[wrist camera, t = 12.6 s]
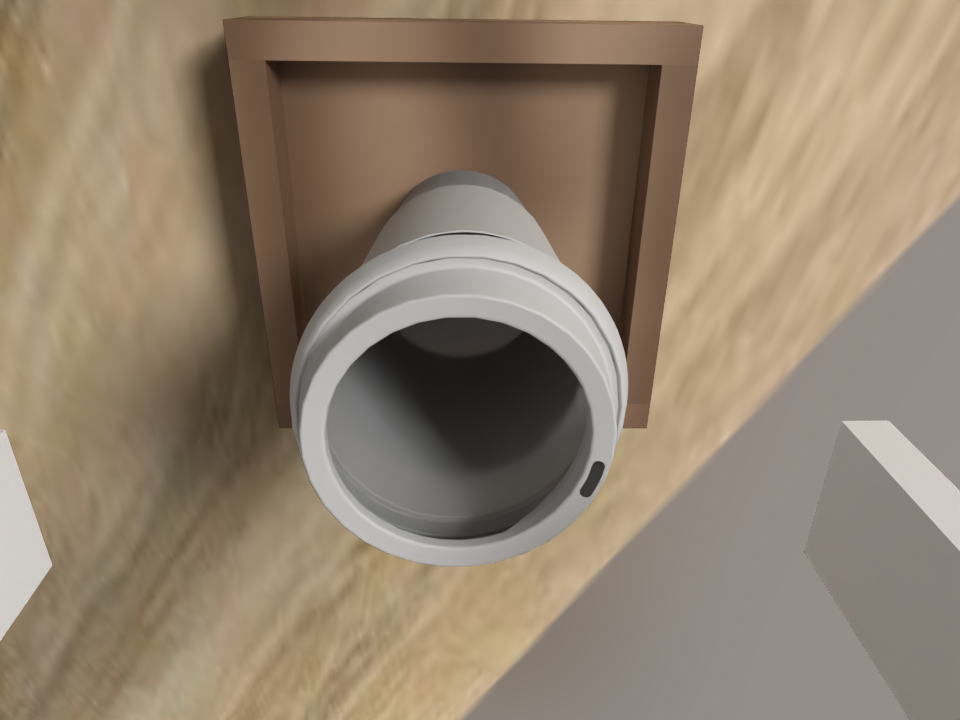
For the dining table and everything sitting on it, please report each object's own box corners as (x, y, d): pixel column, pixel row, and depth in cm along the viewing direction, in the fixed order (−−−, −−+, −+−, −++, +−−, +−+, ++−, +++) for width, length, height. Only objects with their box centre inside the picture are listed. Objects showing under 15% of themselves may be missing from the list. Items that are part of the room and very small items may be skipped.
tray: (294, 392, 27) (279, 427, 25) (247, 16, 21) (222, 19, 19) (632, 393, 28) (646, 428, 25) (679, 21, 22) (703, 25, 19)
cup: (520, 358, 26) (558, 618, 15) (339, 306, 25) (242, 546, 14) (596, 167, 23) (710, 326, 12) (392, 99, 22) (319, 206, 11)
